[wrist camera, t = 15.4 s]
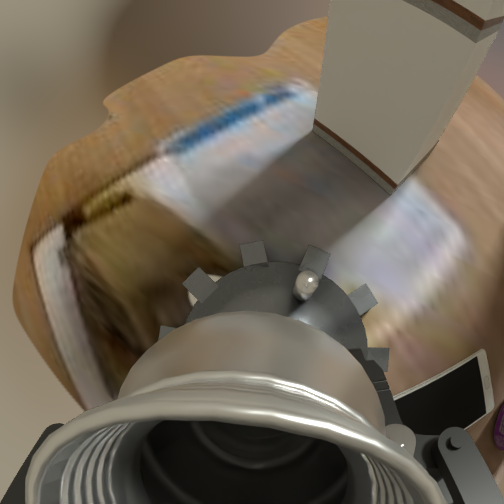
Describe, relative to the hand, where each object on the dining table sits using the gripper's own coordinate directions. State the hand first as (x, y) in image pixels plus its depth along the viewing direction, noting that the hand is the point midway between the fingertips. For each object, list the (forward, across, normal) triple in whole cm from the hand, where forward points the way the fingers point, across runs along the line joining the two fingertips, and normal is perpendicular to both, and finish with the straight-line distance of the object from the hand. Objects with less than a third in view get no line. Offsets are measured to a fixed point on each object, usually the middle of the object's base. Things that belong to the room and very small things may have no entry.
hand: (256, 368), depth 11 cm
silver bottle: (+6, 0, +9) cm, 11 cm away
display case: (+26, -14, -7) cm, 30 cm away
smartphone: (+5, -16, +14) cm, 23 cm away
